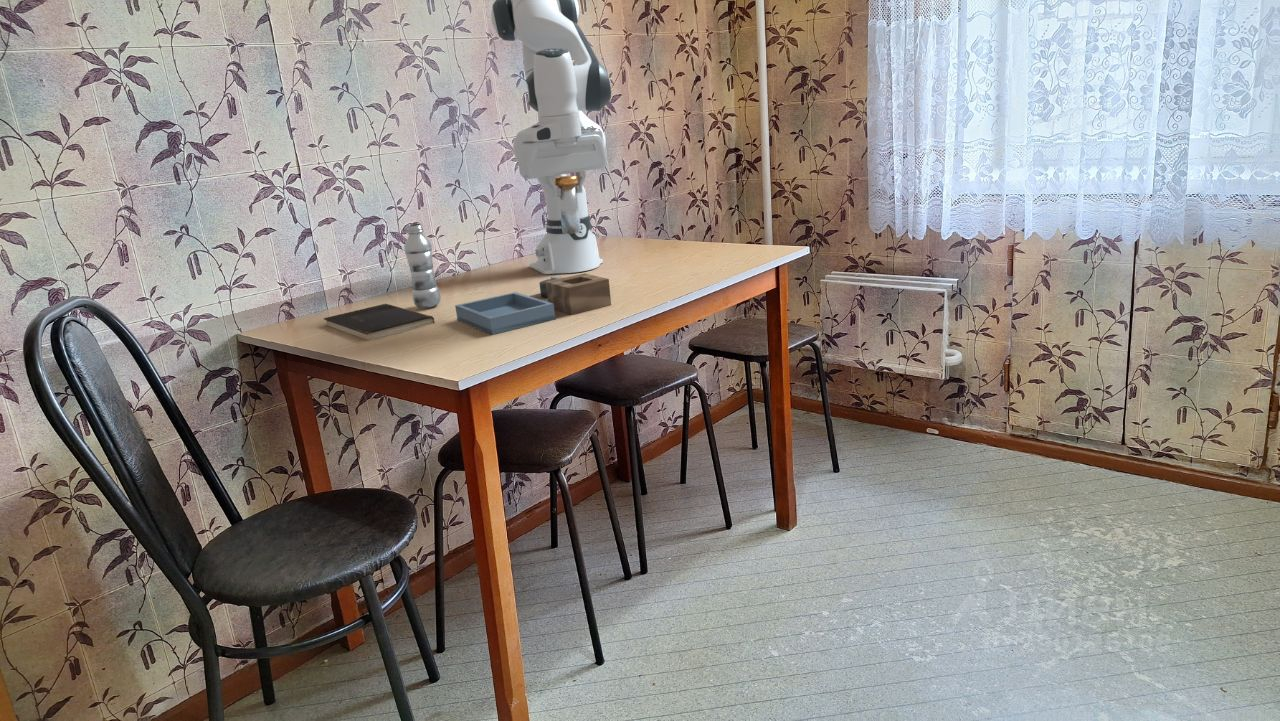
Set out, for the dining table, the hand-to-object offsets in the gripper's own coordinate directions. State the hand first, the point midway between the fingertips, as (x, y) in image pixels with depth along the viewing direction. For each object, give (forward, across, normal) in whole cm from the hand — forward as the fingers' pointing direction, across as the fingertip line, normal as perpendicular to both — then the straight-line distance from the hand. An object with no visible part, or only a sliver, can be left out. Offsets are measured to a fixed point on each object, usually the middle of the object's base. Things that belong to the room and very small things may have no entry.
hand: (567, 194), depth 181 cm
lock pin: (+8, 0, 0) cm, 8 cm away
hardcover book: (+26, +38, -25) cm, 53 cm away
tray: (+25, +17, -3) cm, 31 cm away
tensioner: (+25, 0, -4) cm, 25 cm away
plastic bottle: (+25, +24, -31) cm, 47 cm away
